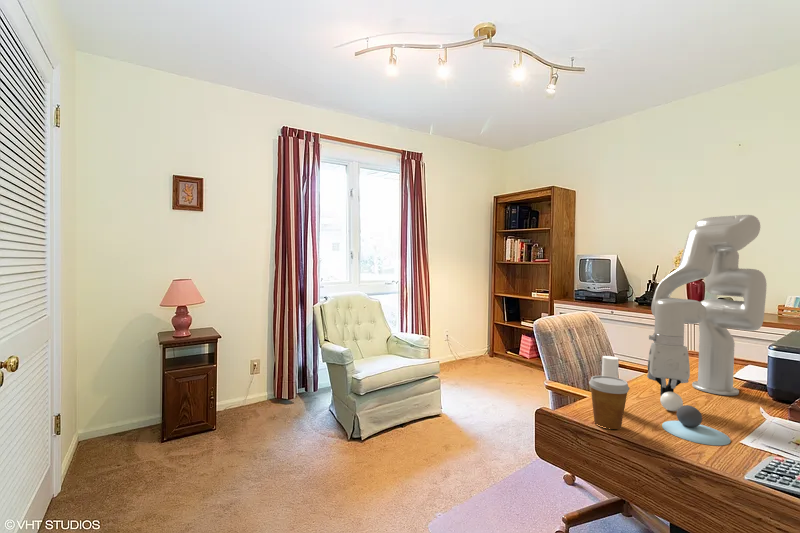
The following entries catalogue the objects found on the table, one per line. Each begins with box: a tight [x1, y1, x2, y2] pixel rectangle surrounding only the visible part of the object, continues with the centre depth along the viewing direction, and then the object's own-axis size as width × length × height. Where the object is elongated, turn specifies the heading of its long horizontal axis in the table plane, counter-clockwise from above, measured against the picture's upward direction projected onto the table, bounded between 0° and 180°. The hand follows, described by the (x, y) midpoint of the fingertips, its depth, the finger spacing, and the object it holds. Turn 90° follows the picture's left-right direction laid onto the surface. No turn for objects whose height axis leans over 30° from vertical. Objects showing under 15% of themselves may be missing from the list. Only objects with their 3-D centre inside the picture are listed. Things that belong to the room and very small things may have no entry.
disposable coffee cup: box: [588, 375, 631, 430], centre depth 104 cm, size 10×10×12 cm
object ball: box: [676, 404, 703, 427], centre depth 104 cm, size 6×6×6 cm
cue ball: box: [659, 392, 684, 412], centre depth 115 cm, size 6×6×6 cm
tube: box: [601, 355, 620, 378], centre depth 116 cm, size 4×4×15 cm
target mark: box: [661, 420, 731, 447], centre depth 100 cm, size 14×14×1 cm
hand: (666, 399), depth 120 cm, fingers closed
